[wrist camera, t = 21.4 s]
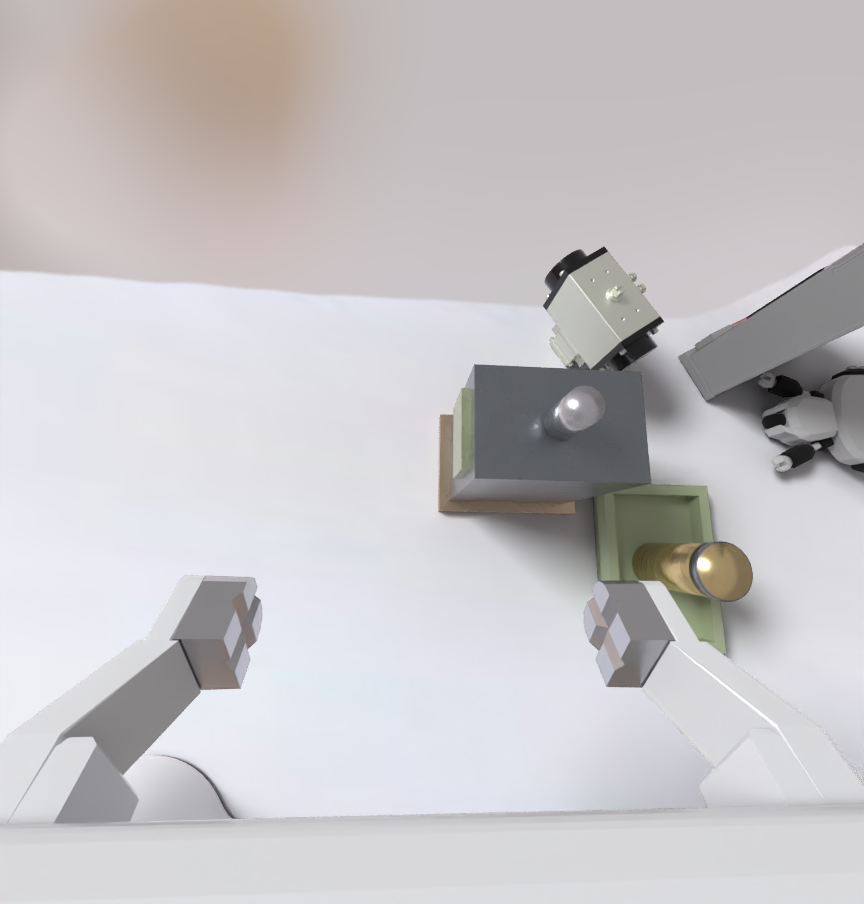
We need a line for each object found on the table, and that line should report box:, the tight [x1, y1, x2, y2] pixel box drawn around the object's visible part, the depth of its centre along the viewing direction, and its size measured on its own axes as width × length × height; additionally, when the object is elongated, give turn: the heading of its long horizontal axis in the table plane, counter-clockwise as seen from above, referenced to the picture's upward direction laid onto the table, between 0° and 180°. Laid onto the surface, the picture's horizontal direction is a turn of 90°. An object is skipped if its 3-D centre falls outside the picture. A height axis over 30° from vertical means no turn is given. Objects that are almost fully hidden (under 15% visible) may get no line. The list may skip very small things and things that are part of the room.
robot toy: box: [758, 366, 864, 472], centre depth 47 cm, size 12×4×15 cm
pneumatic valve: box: [543, 247, 664, 371], centre depth 43 cm, size 6×12×12 cm, turn 34°
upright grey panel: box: [679, 243, 864, 401], centre depth 38 cm, size 14×6×25 cm, turn 117°
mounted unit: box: [438, 364, 651, 514], centre depth 35 cm, size 10×14×21 cm
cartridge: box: [632, 542, 753, 602], centre depth 39 cm, size 5×5×10 cm
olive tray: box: [593, 485, 726, 654], centre depth 43 cm, size 16×11×2 cm
